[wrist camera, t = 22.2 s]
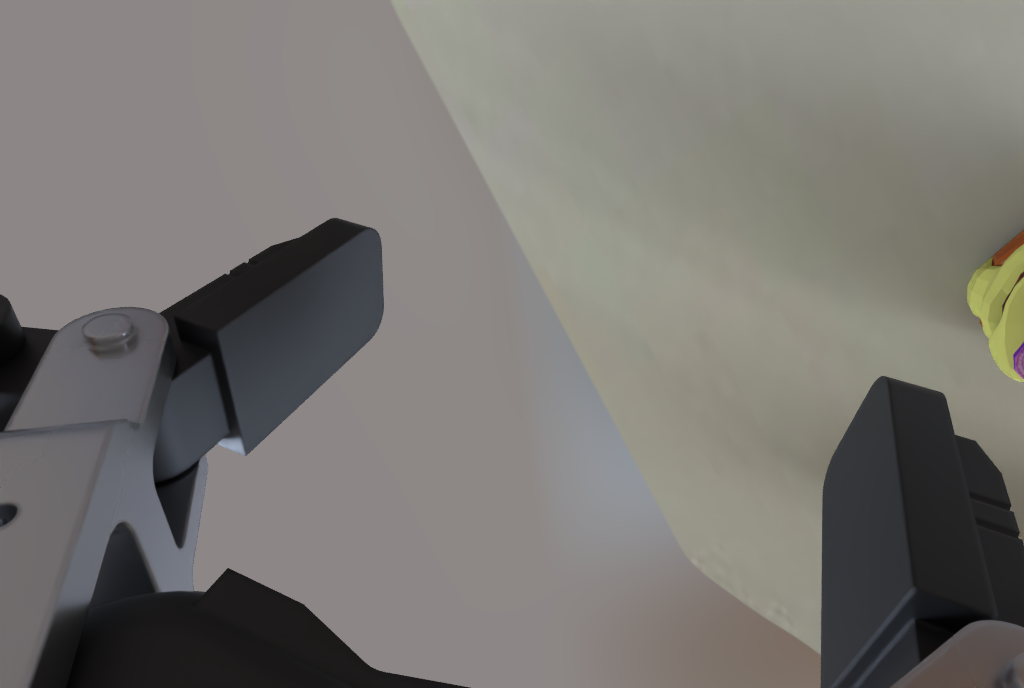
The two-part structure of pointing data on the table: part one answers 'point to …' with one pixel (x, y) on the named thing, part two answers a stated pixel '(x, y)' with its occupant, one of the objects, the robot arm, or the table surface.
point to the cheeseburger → (1002, 305)
